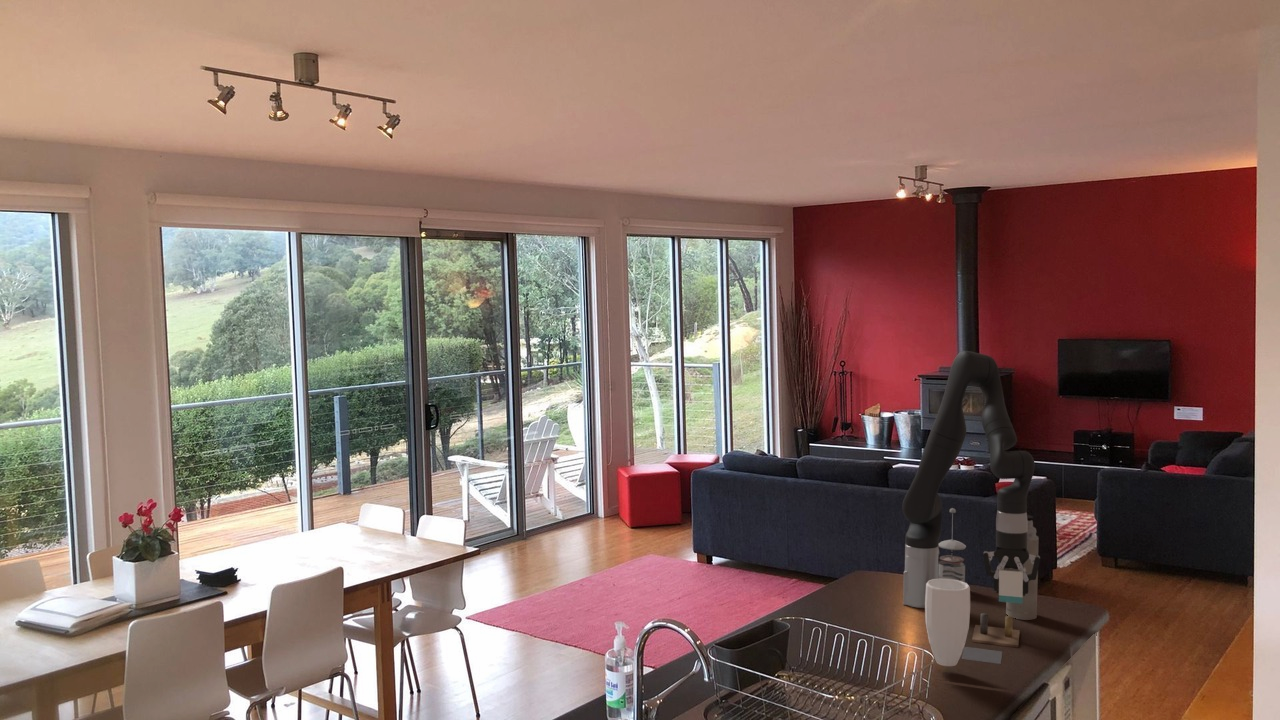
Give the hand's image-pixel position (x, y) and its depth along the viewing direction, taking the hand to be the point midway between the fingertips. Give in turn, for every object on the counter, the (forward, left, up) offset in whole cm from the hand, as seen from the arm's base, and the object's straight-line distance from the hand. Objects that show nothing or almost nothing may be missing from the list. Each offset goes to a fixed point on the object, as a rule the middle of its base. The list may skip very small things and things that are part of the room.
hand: (1011, 593), depth 252 cm
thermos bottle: (+2, +23, -12) cm, 26 cm away
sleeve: (0, 0, -1) cm, 1 cm away
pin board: (-3, 0, -12) cm, 13 cm away
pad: (-6, -15, -12) cm, 21 cm away
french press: (-19, +40, -12) cm, 46 cm away
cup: (-13, -30, -12) cm, 35 cm away
